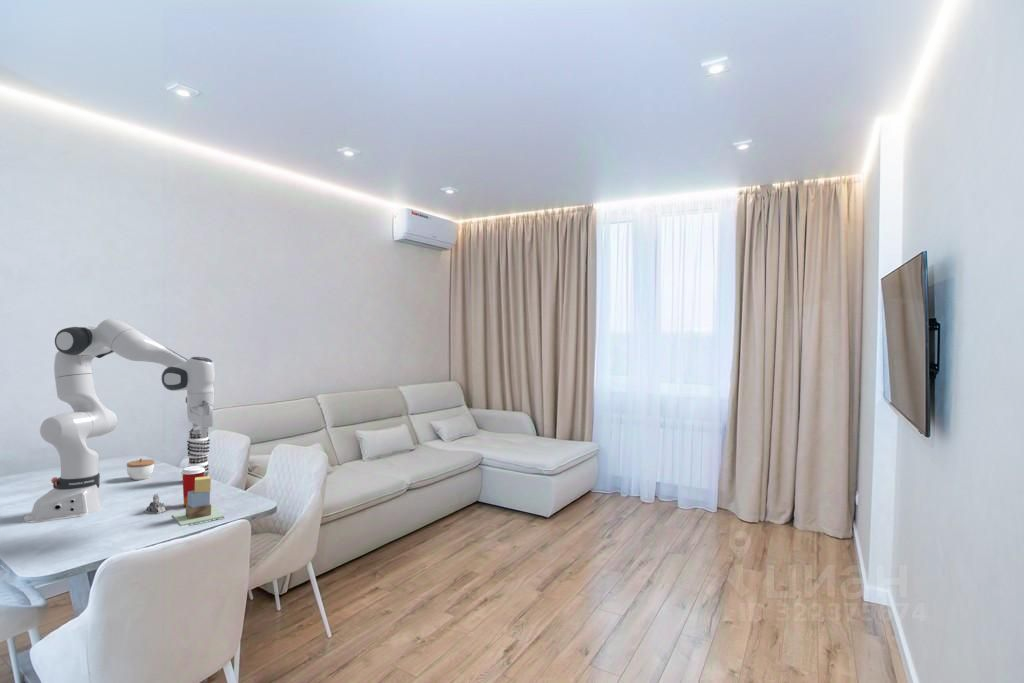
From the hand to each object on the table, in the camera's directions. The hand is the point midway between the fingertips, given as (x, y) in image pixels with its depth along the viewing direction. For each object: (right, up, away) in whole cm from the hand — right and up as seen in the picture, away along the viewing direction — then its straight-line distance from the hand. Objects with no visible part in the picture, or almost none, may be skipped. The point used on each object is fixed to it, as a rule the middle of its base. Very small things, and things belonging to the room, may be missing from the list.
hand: (200, 436), depth 191 cm
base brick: (-1, -30, 0) cm, 30 cm away
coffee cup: (-12, -31, +14) cm, 36 cm away
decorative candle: (-31, -30, +48) cm, 65 cm away
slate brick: (-1, -26, 0) cm, 26 cm away
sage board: (-1, -31, 0) cm, 31 cm away
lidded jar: (-59, -30, +49) cm, 83 cm away
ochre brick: (0, -21, +1) cm, 21 cm away
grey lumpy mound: (-19, -31, +6) cm, 37 cm away
